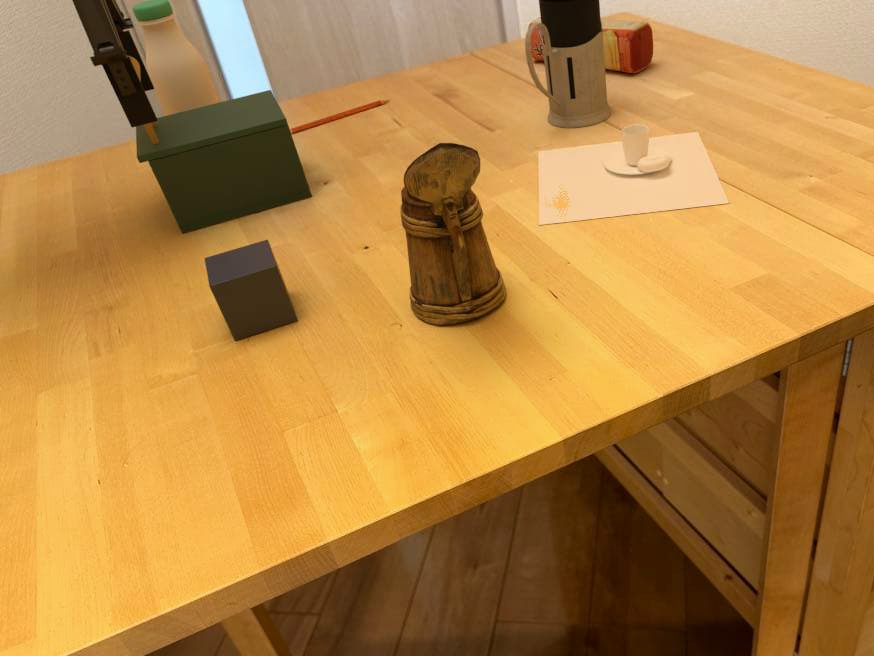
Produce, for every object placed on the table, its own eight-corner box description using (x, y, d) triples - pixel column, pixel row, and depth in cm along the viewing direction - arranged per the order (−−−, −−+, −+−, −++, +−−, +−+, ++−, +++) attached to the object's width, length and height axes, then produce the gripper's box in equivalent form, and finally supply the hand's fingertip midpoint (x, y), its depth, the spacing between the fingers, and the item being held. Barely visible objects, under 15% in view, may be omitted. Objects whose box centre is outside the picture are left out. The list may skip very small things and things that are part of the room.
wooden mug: (432, 364, 64) (377, 159, 53) (403, 288, 74) (352, 102, 63) (532, 335, 66) (500, 129, 54) (490, 265, 76) (456, 78, 64)
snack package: (526, 63, 125) (520, 18, 120) (552, 51, 128) (548, 7, 124) (631, 79, 113) (629, 30, 108) (657, 64, 116) (656, 16, 112)
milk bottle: (244, 153, 109) (185, -1, 96) (189, 169, 106) (121, 14, 94) (232, 138, 114) (175, -9, 101) (180, 154, 112) (115, 5, 99)
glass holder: (623, 106, 105) (616, -15, 95) (567, 147, 96) (554, 18, 87) (569, 100, 109) (558, -16, 99) (511, 139, 101) (493, 16, 91)
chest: (182, 233, 91) (148, 161, 85) (176, 195, 100) (146, 128, 94) (312, 196, 94) (288, 125, 89) (295, 162, 104) (272, 96, 98)
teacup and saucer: (677, 176, 86) (676, 141, 83) (606, 185, 86) (604, 150, 84) (666, 146, 93) (666, 112, 90) (601, 154, 93) (598, 121, 91)
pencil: (281, 136, 113) (280, 131, 112) (390, 101, 119) (389, 96, 119) (283, 137, 112) (281, 133, 112) (392, 102, 118) (391, 97, 118)
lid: (139, 163, 85) (101, 82, 79) (138, 129, 94) (103, 55, 88) (288, 124, 88) (261, 45, 83) (272, 95, 98) (247, 22, 92)
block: (234, 341, 71) (209, 286, 67) (228, 311, 75) (204, 257, 71) (298, 320, 72) (276, 265, 68) (288, 292, 77) (267, 239, 73)
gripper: (76, -116, 65) (182, 129, 79) (87, -129, 84) (172, 72, 97) (-18, -98, 64) (107, 149, 77) (14, -116, 82) (111, 87, 95)
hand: (143, 106), depth 87 cm, fingers open, 13 cm apart
